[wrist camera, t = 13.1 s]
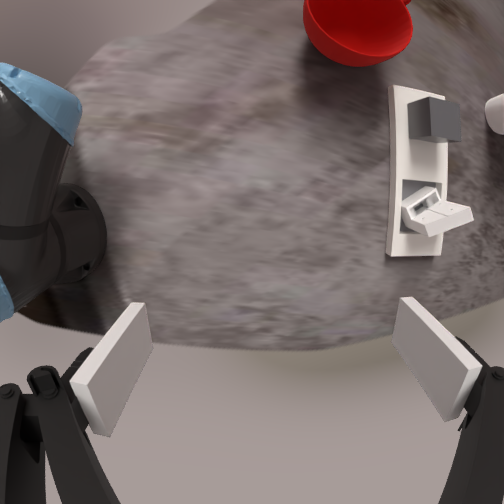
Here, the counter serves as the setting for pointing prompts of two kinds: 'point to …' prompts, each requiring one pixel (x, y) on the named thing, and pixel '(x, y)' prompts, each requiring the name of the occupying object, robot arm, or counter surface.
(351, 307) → the counter surface
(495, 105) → the foam cup
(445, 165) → the white slotted base plate
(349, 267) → the counter surface
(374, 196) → the counter surface
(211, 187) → the counter surface
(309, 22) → the ceramic cup
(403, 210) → the white angled block
